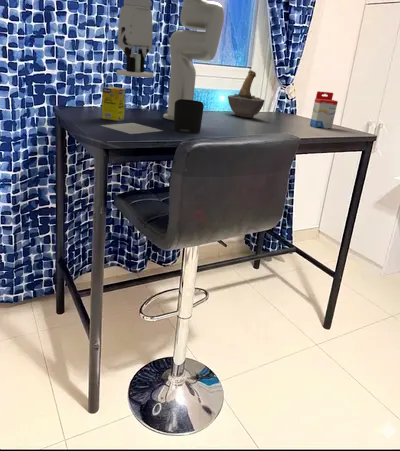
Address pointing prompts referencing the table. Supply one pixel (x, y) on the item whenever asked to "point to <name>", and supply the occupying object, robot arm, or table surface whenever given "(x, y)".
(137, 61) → the lid
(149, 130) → the mat
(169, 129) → the table surface
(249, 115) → the mortar and pestle
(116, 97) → the supplement box
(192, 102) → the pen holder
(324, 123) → the ink box
